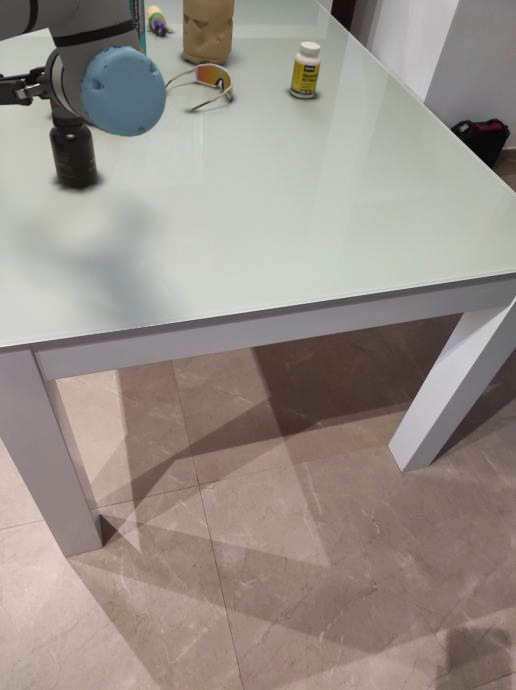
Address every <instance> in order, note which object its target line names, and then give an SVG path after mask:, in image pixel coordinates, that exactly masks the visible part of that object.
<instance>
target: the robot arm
mask: <svg viewBox="0 0 516 690" xmlns="http://www.w3.org/2000/svg"><path fill="white" fill-rule="evenodd" d="M46 29H48V31H49V34H50V36H51V38H52V41H53V44H54V46H55V48H54V49H53V50H52V51H51V52H50V54H49V55H48V57H47V59H46V62H45V65H42V66H37V67H35V68H31V69H29V73H21V74H16V75H9V76H5V75H4V74H2V73H0V106H22V107H30V106H31V105H32V104H33V102H34V101H35V100H34V97H38V98H39V99H41V100H42V101H46V100H47V101H48V100H50V99H53V100H54V101H55V102H56V103H57V104H58V105H59V106H60V107H62V108H63V109H64V110H66V111H68V112H70V113H72V114H74V115H76V116H79V117H81V118H83V119H85V120H86V121H88V122H90V123H92V124H93V125H92V126H94V125H95V126H94V127H95V128H96V129H98V130H100V131H102V132H104V133H106V134H110V135H112V136H113V135H114V136H119V137H125V138H133V137H138V136H142V135H144V134H146V133H148V132H150V131H151V130H152V129H153V128H155V126H157V124H158V123H159V122H160V120H161V118H162V116H163V114H164V111H165V108H166V104H167V88H166V87H165V85H166V83H165V79H164V77H163V75H162V72H161V71H160V69H159V68H158V66H157V65H156V64H155V62H154V61H153V60H152V59H151V58H150V57H149V56H148V55H147V54H146V55H147V56H146V55H145V54H144V53H143V52H142V49H141V45H140V42H139V38H138V34H137V31H136V28H135V27H134V23H133V20H132V16H131V12H130V9H129V5H128V1H127V0H0V42H3V41H6V40H9V39H13V38H16V37H19V36H22V35H26V34H30V33H34V32H37V31H42V30H46Z"/></svg>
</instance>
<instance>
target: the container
mask: <svg viewBox="0 0 516 690" xmlns="http://www.w3.org/2000/svg"><path fill="white" fill-rule="evenodd" d="M235 1H236V0H182V48H183V49H182V58H183V59H184V60H187V61H191V62H192V63H194V64H196V65H200V63H202V62H204V63H209V64H216V65H220V64H223V63H225V62H226V61H227V60H228V59H229V58H230V54H231V53H232V47H233V33H234V32H233V30H234V20H233V17H234V13H235Z"/></svg>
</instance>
